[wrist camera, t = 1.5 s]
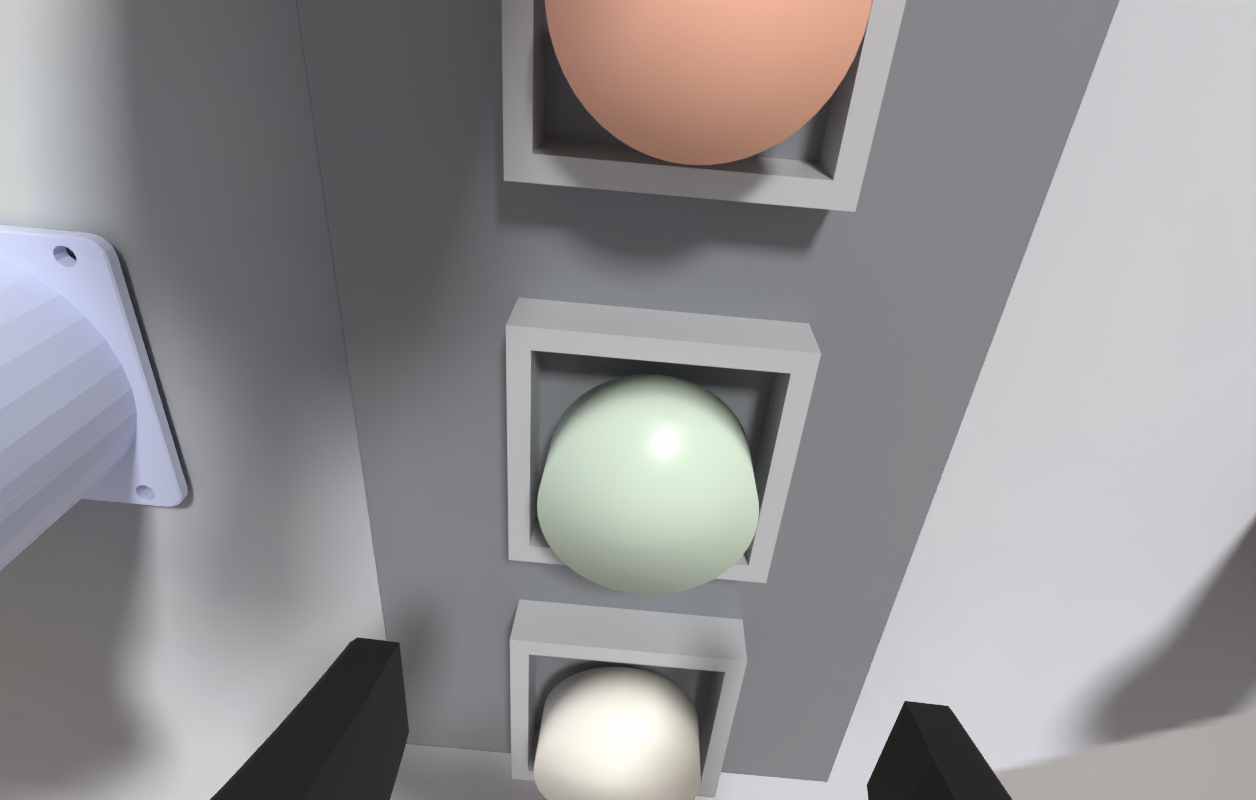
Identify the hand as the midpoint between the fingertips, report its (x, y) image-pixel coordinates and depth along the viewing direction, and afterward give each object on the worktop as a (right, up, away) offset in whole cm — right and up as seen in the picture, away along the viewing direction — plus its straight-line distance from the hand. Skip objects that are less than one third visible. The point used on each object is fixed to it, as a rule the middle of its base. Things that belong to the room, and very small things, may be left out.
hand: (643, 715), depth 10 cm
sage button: (0, +3, +5) cm, 6 cm away
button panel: (0, +5, +8) cm, 10 cm away
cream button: (0, -5, +10) cm, 11 cm away
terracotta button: (+1, +11, +1) cm, 11 cm away
